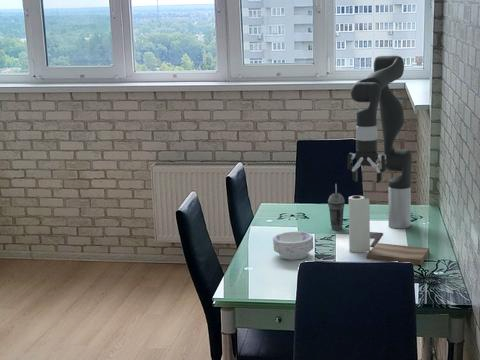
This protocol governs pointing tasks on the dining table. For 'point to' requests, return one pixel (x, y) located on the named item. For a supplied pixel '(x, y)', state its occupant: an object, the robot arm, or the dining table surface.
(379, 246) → the walnut board
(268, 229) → the dining table surface
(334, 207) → the beverage cup
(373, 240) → the chocolate bar
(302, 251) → the grey marble bowl
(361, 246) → the paper towel roll
